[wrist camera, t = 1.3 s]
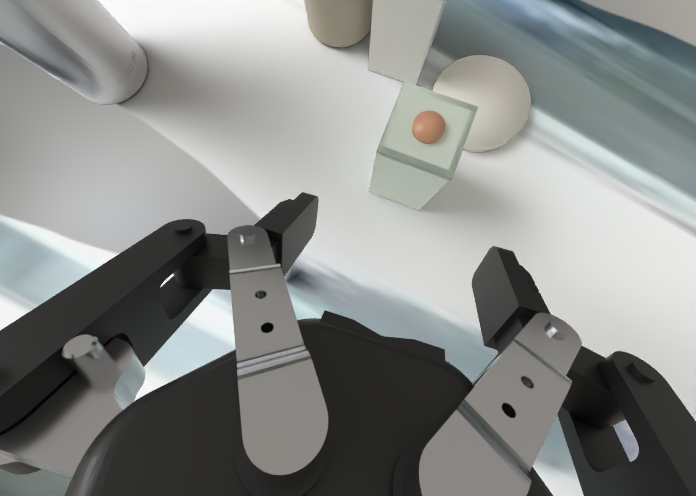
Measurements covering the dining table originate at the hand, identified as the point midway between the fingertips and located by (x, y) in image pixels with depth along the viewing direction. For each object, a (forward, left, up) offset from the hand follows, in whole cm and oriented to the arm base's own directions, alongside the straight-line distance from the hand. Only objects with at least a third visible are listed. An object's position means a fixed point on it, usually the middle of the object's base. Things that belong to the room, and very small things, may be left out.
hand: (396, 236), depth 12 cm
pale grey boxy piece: (0, +10, -17) cm, 20 cm away
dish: (+5, +21, -17) cm, 27 cm away
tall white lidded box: (-5, +24, -17) cm, 30 cm away
